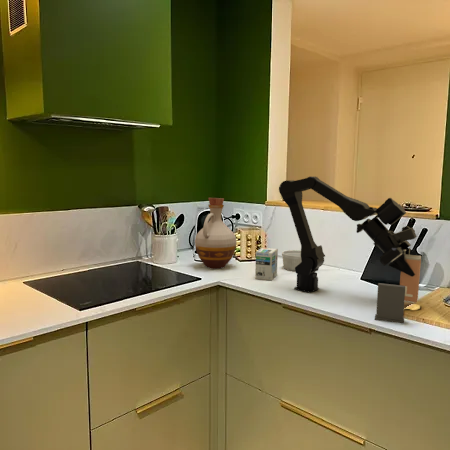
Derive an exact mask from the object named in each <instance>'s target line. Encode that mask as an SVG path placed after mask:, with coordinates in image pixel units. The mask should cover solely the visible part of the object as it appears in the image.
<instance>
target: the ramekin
mask: <svg viewBox="0 0 450 450" xmlns="http://www.w3.org/2000/svg"><path fill="white" fill-rule="evenodd" d="M281 256H282V266H283V268H284V270H287V271H291V272H296V271H295V267H296V266H297V265H299V264H300V263H301V262H302V261H301V249H300V250H297V249H296V250H295V249H292V250H290V249H289V250H283V251H282V252H281Z"/></svg>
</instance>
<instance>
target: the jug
mask: <svg viewBox="0 0 450 450" xmlns="http://www.w3.org/2000/svg"><path fill="white" fill-rule="evenodd" d="M224 200H225V198H221V197H220V198H219V197H208V202H209V204H208V208H209V212H210V213H208V214H207V216H206V217H205V219H204V223H203V227H202V228H201V229H200V230H199V231H198V232H197V233H196V235H195V240H194V245H195V249H196V253H197V256H198V258H199V259H200V261H201V262H202V264H203V265H204V267H206V268H207V269H210V270H211V269H212V270H217V269H218V270H219V269H221V270H222V269H224V268H225V267H227V265H228V264H229V263H230V261H231V260H232V259H233V256H234V253H235V251H236V247H237V237H236V235H235V233H234V232H233V231H232V229H230V228H229V227H228V226H227V225H226V224H225V223H224V221H223V220H222V213H223V208H224V206H225V204H224Z"/></svg>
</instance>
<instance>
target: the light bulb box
mask: <svg viewBox="0 0 450 450" xmlns="http://www.w3.org/2000/svg"><path fill="white" fill-rule="evenodd" d="M278 254H279V249H278V248H271V247H270V248H269V247H261V248H259V249H258V250H257V251H255V269H254V270H255V274H254V276H255V277H254V278H255V280H262V281H272V280H273V279H274V278H276V277H277V275H278V256H279V255H278Z"/></svg>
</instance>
